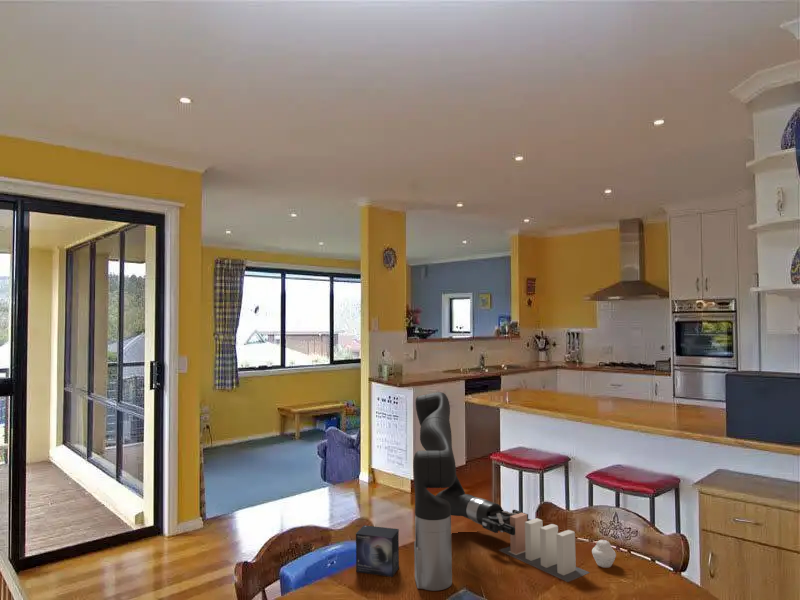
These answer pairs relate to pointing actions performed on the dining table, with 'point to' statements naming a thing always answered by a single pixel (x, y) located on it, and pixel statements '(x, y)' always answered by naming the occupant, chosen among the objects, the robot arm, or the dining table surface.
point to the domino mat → (550, 570)
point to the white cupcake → (603, 554)
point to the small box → (377, 550)
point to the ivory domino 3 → (566, 552)
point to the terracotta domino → (518, 532)
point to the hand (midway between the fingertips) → (524, 528)
